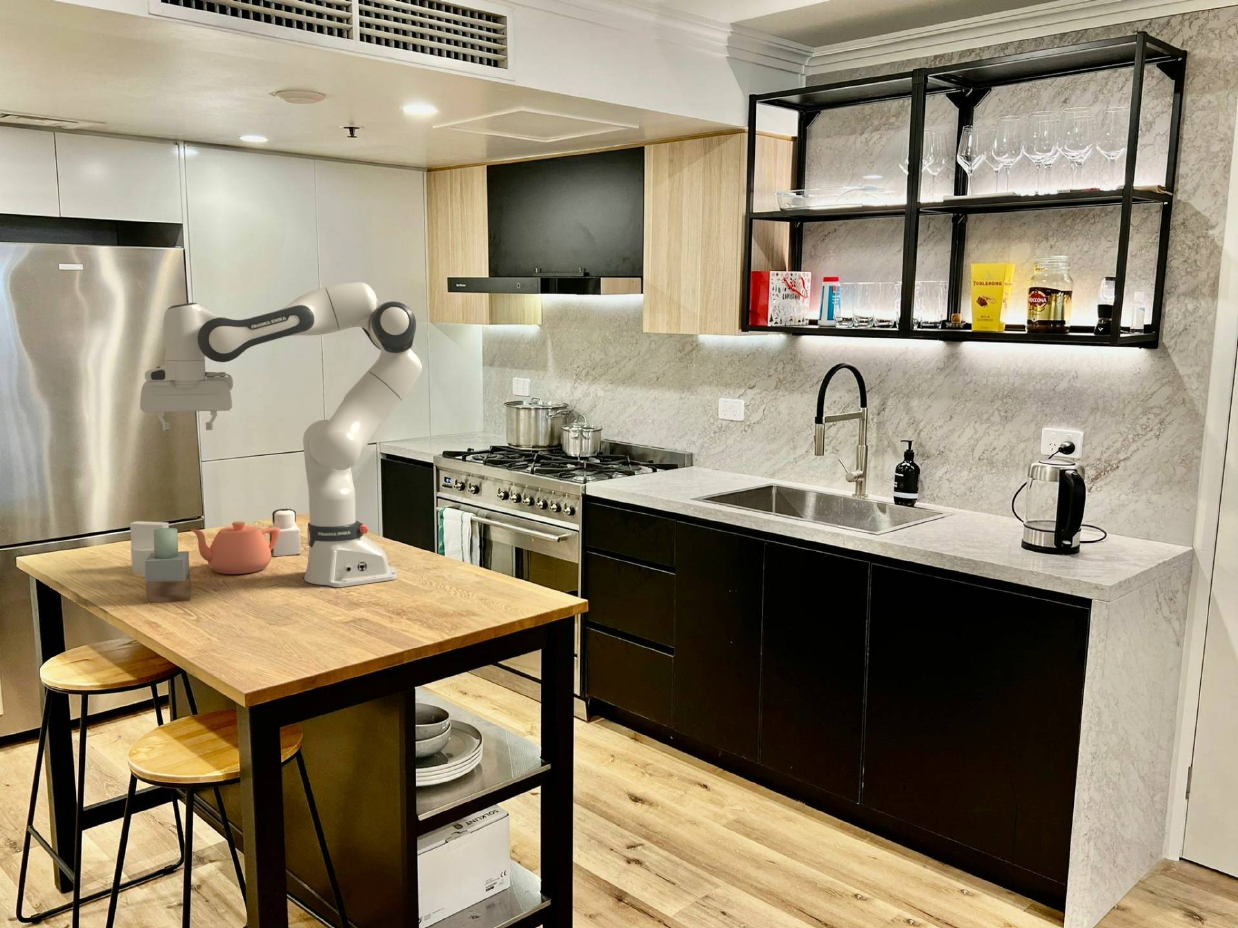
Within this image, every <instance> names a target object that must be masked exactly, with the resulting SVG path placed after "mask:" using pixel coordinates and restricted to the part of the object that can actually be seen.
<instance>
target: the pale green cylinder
mask: <svg viewBox="0 0 1238 928" xmlns="http://www.w3.org/2000/svg"><path fill="white" fill-rule="evenodd" d="M178 552H179V539H178V528H175V527H174V528H173V527H169V528H162V529H156V530H154V555H155V558H173V557H177V556H178Z"/></svg>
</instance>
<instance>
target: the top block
mask: <svg viewBox="0 0 1238 928" xmlns="http://www.w3.org/2000/svg"><path fill="white" fill-rule="evenodd" d="M189 554H190V553H189V550H188V551H187V550H185V551H178V556H177V557H173V558H155V555H154V553H151V554H150V555H149V557H148V558H147V559H146V560H145V571H146V574H145V584H146V583H150V582H172V581H184V580H185V579H186V577H187V575H188V574H189V571H190V559H189V558H190V557H189V556H190V555H189Z"/></svg>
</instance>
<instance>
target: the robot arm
mask: <svg viewBox="0 0 1238 928" xmlns="http://www.w3.org/2000/svg"><path fill="white" fill-rule="evenodd" d="M162 325H163V343H164V346H165V355H164V364H163V365H162V366H156V367H154V368H151V369H147V370H146V371H145V372H144V379H145V380H146V381H145V382H143V385H142V386H141V390H140V391H141V392H140V398H139V399H140V401H139V402H140V403H139V407H140V408H139V409H140V410H141V411H142V412H143V413H156V415H157V417H156V418H158V420H159V421H160V423H161V424H162V432H170V431H171V424H170V422H166V421H165V419H164V418H163V417H164V416H165V413H169V412H170V413H171V412H172V413H174V412H175V413H177V412H210V416H211V418H210V420H209V421H206V422H205V430H207V431H213V427H214V425H213V424H214V421H215V420H216V418H217V416H218V411H219V412H220V411H222V412H225V411H226V412H227V411H230V410H231V409H232V408H233V399H232V394H231V390H232V389H233V387H234V385H233V384H234V383H233V382H234V379H233V377H232V375H230V374H228V373H227V372H225V371H220V372H219V371H218V372H216V371H206V358H207V359H209V360H211V361H213V362H217V363H226V362H227V363H228V362H230V361H233V360H235V359H236V358H239V356H240V355H241V354H243V353H244V352H245V351H246V350H248V349H250V348H252V347H255V346H258V345H262V344H264V343H268V342H272V341H274V340H278V339H282V338H286V337H291V336H293V337H295V336H319V335H325V334H326V335H327V334H331V333H336V332H340V331H344V330H347V329H351V328H358V327H359V328H361V329H362V330H363V332H364V333H365V335H366V336H367V337H368V339H369V341H370V342H371V343H372V345H374V346H375V348H376V349H378V350H380V354H379V357H378V358H377V360H376V361H375V362H374V363H373V365H372V366H371V367H370V368H368V370H367V371H366V372H365V373H364V374H363V375H362V377H360V378H359V379H358V381H357V382H356V383H355V384H354V385H353V386H352V387H351V389H349V391H348V392H347V393H346V394H345V395H344V398H343V400H342V401H341V403H340V404H339V406H338V407H337V409H336V410H335V411H334V413H333V415H332V416H331V418H330V419H321V420H317V421H315V422H312V423H311V424H310V425H309V426H308V427H307V428H306V430H305V432H304V433H303V438H302V445H303V455H304V466H305V473H306V480H307V488H308V509H309V510H308V511H309V512H308V514H309V515H308V516H309V522H308V523H307V529H306V530H307V544H308V546H309V548H308V551H309V552H308V559H307V566H306V570H305V575H304V577H303V579H304V581H306V582H307V583H309V584H313V585H320V586H328V587H332V588H343V587H350V586H357V585H365V584H372V583H379V582H385V581H394V580H396V579H397V578H398V570H397V568H395V566H393V565H391V564H389V560H388V557H387V553H386V552H385V550H384V548H383V547H381V545H379V544H377V543H375V542H374V541H373V540H371V539H370V538H368V537H367V536H366V534H367V533H368V532H369V527H368V526H367V525H366V524H364V523H362V522H361V521H358V520H357V518H356V515H357V513H356V510H357V509H356V488H355V485H354V480H353V479H354V478H353V474H352V468H353V466H355V465H356V464H357V462H358V461H359V459H360V456H361V454H362V453H363V451H364V450H365V449H366V447H367V446H368V445H369V443H370V441H371V440H372V438H373V437H374V435H375V433H376V432H377V430H378V429H379V428H380V426H381V425H382V424H383V423H384V421H385V420H387V418H388V417H389V416H390V415H391V413H392V412H393V411H394V410H395V409H396V408H397V407H398V406H399V404H400V403H401V402H402V401H403V400H404V399H405V398H406V396H407V395H408V394H409V393H410V391H411V390H412V389H413V387H414V386H415V385H416V383H417V382H418V380H419V379H420V376H421V375H422V373H423V365H422V362H421V360H420V358H419V357H418V355H417V354H416V353H415V352H414V351H413V350H412V347H413V344H414V339H415V335H416V329H417V319H416V316H415V314H414V312H413V310H412V309H410V307H409V306H407V305H406V304H404V303H402V302H399V301H387V302H383V303H381V302H379V300H378V299H377V295H376V292H375V291H374V290H373V288H372V287H371V286H370V285H369V284H368V283H365V282H362V281H355V282H344V283H339V284H338V283H337V284H332V285H328V286H324V287H320V288H317V289H314V290H311V291H309V292H306V293H305V294H302V295H300V296H299V297H297V298H295V299H294V300H293V301H292V302H290V303H289V304H287V305H285V306H284V307H282V308H280V309H277V310H275V311H271V312H268V313H264V314H260V315H256V316H253V317H249V318H245V319H231V318H229V317H226V316H223V315H220V314H218V313H217V314H216V313H215V312H213V311H210V310H209V309H206V307H203V306H202V305H200V303H197V302H188V303H181V304H180V303H179V304H175V305H172V306H170V307H169V308H167V309H166V310H165V312H164V316H163V324H162Z"/></svg>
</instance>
